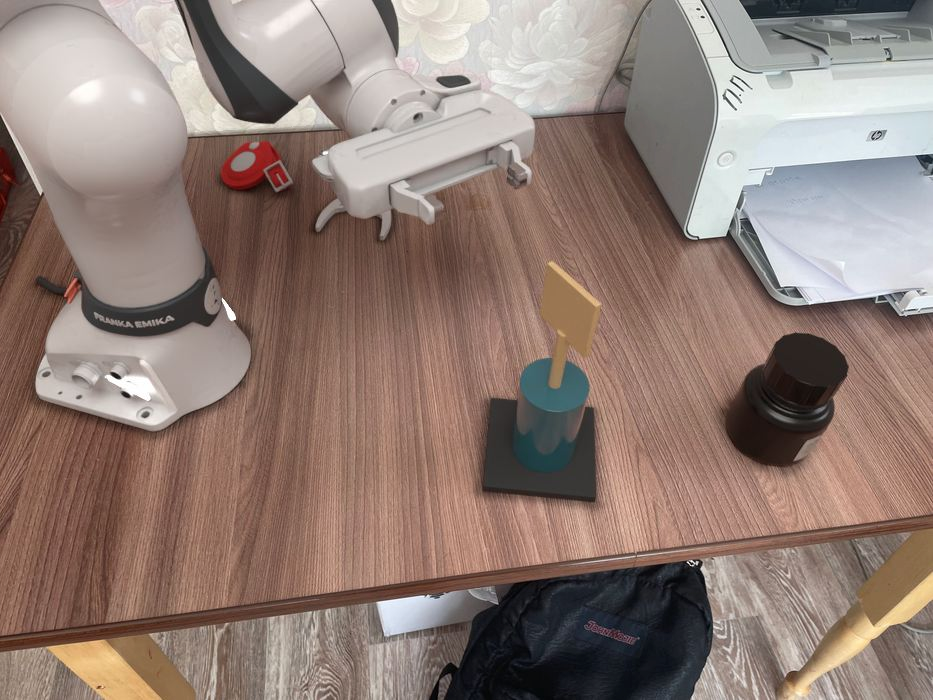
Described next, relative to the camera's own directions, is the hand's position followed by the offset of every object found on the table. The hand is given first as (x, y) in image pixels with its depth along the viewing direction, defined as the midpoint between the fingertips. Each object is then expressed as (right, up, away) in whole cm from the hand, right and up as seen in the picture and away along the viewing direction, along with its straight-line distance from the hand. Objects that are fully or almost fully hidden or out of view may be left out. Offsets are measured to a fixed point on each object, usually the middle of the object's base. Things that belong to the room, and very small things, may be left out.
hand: (482, 198), depth 62 cm
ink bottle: (+31, -22, +14) cm, 40 cm away
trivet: (+6, -24, +11) cm, 27 cm away
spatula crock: (+6, -23, +10) cm, 26 cm away
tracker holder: (-32, +11, +41) cm, 53 cm away
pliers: (-16, +7, +39) cm, 42 cm away
